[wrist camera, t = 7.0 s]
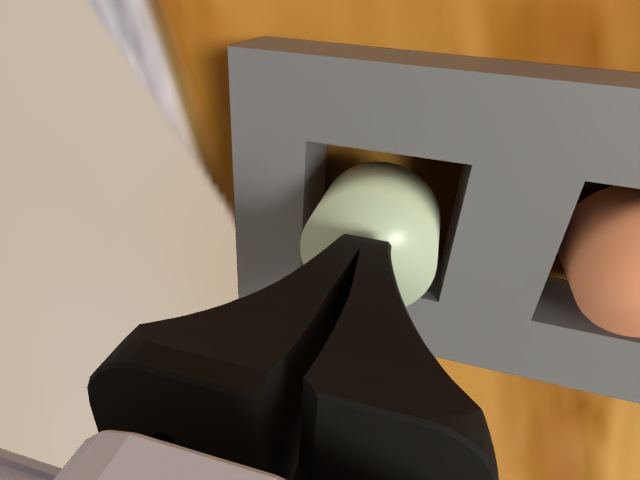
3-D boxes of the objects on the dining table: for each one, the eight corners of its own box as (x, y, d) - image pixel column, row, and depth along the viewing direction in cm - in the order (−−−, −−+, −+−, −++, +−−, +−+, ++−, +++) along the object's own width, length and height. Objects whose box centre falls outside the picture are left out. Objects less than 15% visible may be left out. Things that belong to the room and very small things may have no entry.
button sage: (319, 257, 16) (297, 298, 14) (326, 153, 14) (302, 183, 12) (428, 278, 16) (423, 325, 14) (452, 171, 14) (451, 207, 11)
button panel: (265, 272, 21) (239, 312, 18) (264, 36, 16) (227, 46, 13) (967, 417, 16) (1065, 501, 13) (1308, 137, 10) (1578, 185, 8)
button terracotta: (541, 276, 16) (554, 321, 14) (580, 173, 14) (602, 207, 12) (663, 299, 15) (698, 350, 13) (724, 193, 13) (776, 234, 11)
